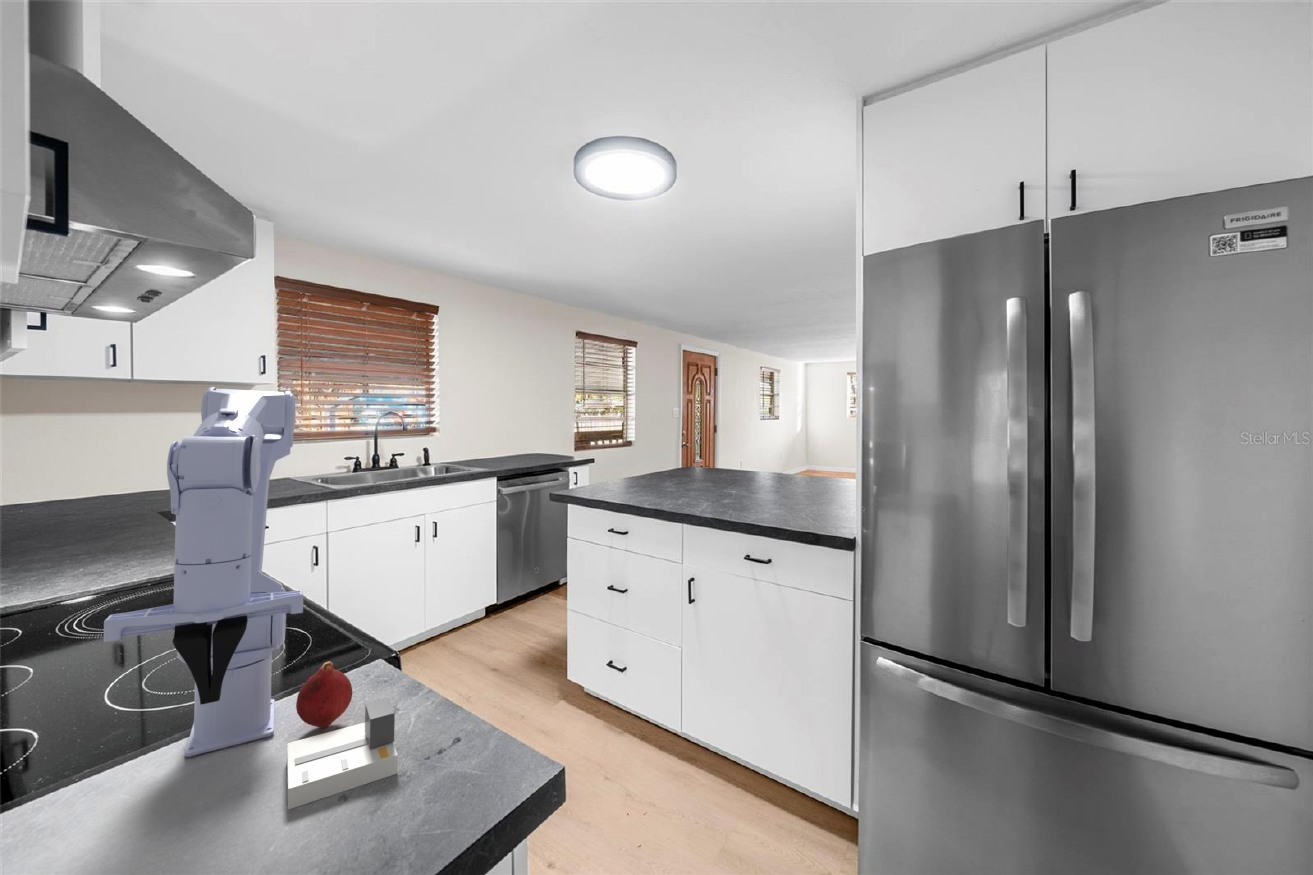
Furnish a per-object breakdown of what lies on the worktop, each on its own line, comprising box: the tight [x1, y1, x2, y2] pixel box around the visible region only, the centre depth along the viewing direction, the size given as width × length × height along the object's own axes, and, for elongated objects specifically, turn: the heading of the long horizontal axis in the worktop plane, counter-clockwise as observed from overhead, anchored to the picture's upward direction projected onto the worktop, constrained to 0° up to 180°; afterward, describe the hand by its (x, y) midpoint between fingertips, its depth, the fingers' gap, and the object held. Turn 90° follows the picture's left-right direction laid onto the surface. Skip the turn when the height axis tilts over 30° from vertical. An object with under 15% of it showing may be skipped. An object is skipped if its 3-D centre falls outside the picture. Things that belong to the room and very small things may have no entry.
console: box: [286, 722, 399, 810], centre depth 57 cm, size 9×10×2 cm
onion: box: [295, 661, 353, 729], centre depth 64 cm, size 6×6×8 cm
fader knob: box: [364, 697, 396, 749], centre depth 59 cm, size 4×2×3 cm, turn 36°
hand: (210, 698), depth 50 cm, fingers closed
